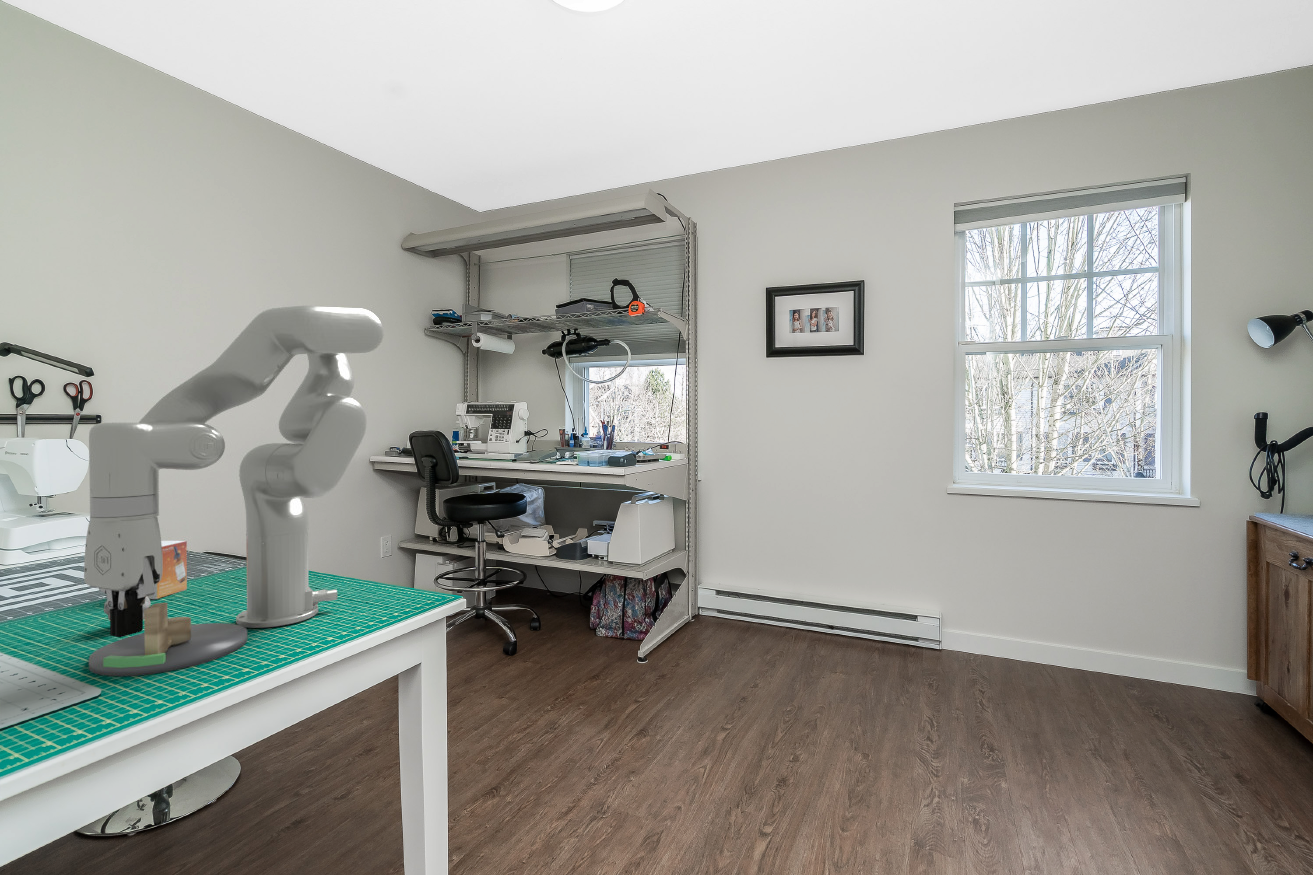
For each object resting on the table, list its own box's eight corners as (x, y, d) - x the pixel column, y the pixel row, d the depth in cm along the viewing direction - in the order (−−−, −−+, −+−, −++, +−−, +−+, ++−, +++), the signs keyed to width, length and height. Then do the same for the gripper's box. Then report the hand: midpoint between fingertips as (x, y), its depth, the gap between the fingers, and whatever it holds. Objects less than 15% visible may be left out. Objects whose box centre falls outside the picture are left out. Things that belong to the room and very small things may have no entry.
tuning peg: (161, 637, 94) (161, 593, 94) (195, 634, 96) (194, 590, 96) (132, 660, 85) (131, 611, 85) (170, 656, 87) (169, 608, 87)
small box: (156, 600, 121) (156, 547, 120) (128, 599, 121) (128, 547, 120) (188, 589, 129) (187, 540, 128) (162, 589, 129) (161, 540, 128)
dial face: (241, 622, 107) (241, 609, 107) (253, 654, 92) (253, 638, 92) (95, 647, 95) (94, 632, 95) (81, 688, 80) (81, 670, 80)
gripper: (61, 508, 86) (62, 636, 87) (128, 513, 81) (130, 649, 82) (122, 502, 93) (123, 620, 94) (188, 507, 88) (189, 631, 89)
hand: (126, 633), depth 88 cm, fingers closed
